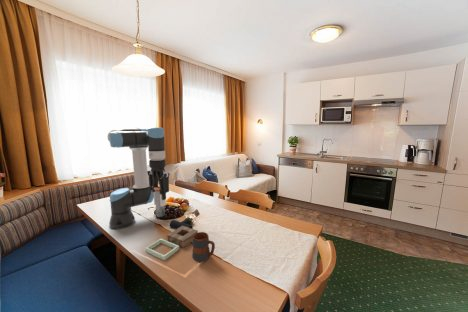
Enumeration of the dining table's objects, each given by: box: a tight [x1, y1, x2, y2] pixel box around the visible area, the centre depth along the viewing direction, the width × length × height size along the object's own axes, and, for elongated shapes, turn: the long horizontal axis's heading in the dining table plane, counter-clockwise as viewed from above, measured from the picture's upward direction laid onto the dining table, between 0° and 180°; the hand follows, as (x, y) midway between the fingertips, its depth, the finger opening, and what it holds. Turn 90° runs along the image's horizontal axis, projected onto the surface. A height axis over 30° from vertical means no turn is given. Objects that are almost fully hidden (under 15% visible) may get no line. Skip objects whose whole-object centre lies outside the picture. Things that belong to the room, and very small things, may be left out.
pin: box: [154, 184, 166, 218], centre depth 98 cm, size 5×5×15 cm
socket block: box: [166, 226, 199, 248], centre depth 112 cm, size 12×12×5 cm
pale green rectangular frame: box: [144, 238, 180, 261], centre depth 102 cm, size 14×10×3 cm
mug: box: [192, 231, 216, 263], centre depth 97 cm, size 9×12×12 cm
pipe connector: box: [169, 216, 194, 230], centre depth 127 cm, size 12×5×15 cm
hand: (160, 204), depth 98 cm, fingers closed on pin, 4 cm apart
